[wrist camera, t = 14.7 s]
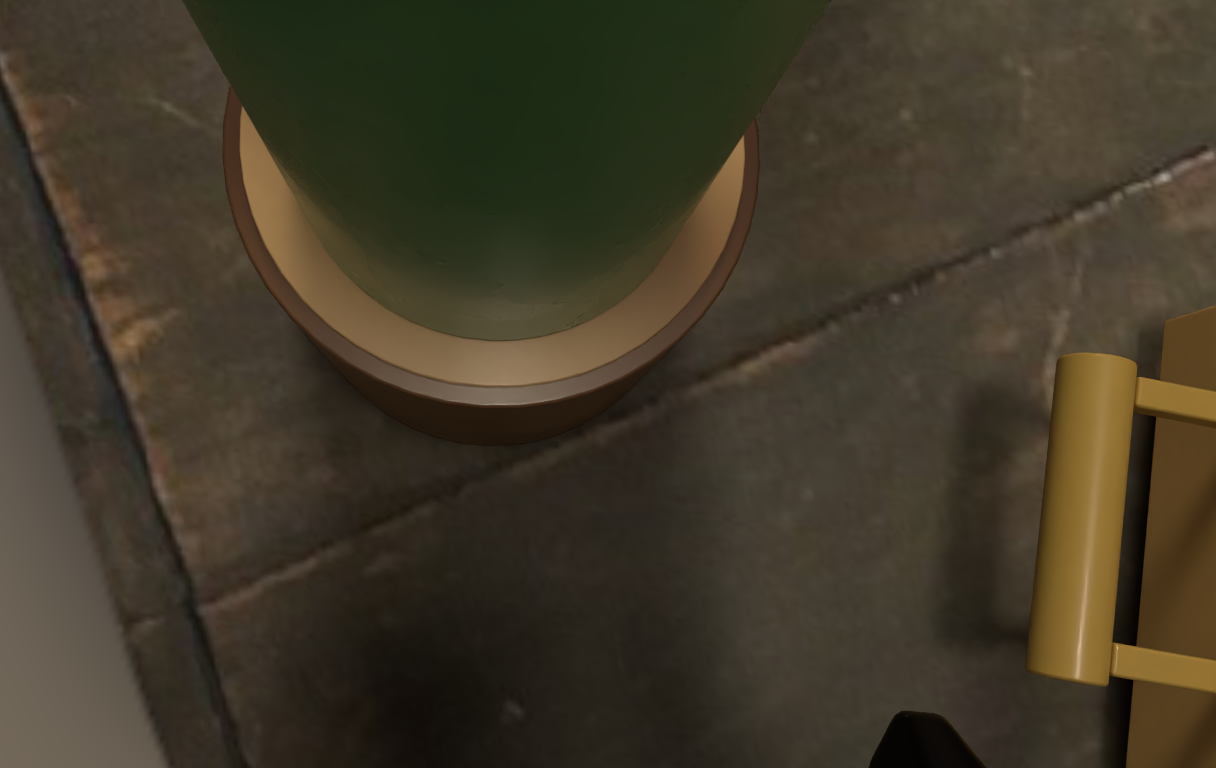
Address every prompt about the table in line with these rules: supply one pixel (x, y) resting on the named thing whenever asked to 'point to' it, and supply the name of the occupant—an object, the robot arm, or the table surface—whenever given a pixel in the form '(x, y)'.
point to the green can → (501, 138)
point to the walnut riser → (474, 368)
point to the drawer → (1174, 548)
